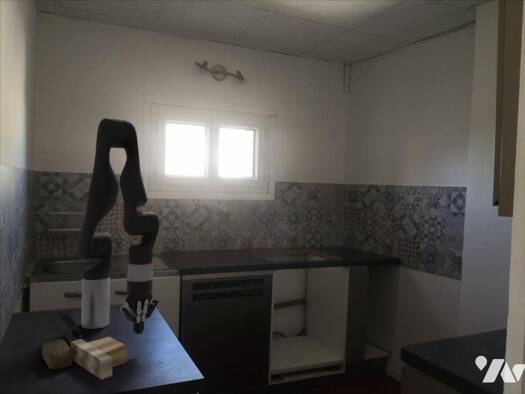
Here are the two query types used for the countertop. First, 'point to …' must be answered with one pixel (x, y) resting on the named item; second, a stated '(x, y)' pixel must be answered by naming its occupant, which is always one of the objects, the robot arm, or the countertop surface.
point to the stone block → (57, 354)
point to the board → (91, 359)
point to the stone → (68, 326)
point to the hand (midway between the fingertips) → (138, 333)
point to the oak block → (112, 349)
